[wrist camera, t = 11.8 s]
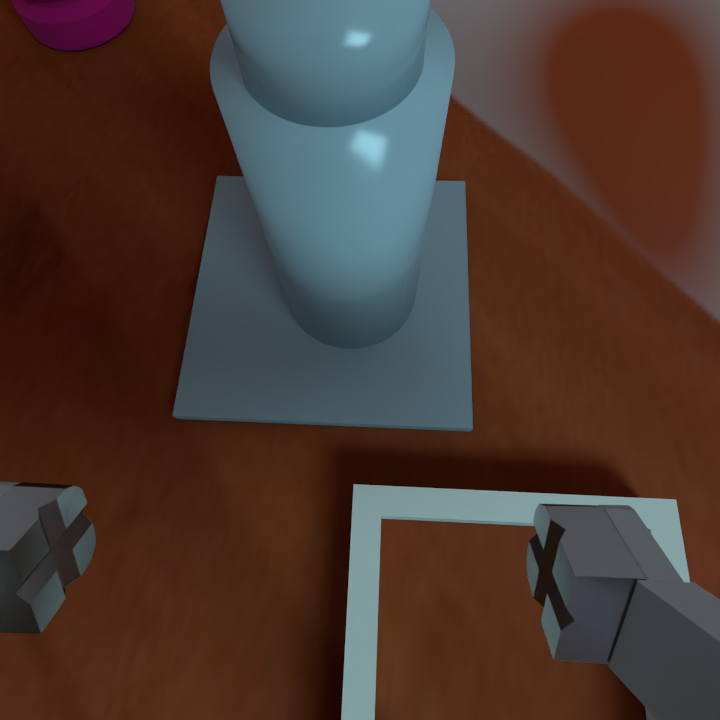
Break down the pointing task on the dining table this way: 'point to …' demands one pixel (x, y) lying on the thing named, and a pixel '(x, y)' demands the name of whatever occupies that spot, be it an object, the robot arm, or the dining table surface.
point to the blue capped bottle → (338, 149)
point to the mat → (311, 357)
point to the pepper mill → (75, 21)
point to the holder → (451, 508)
